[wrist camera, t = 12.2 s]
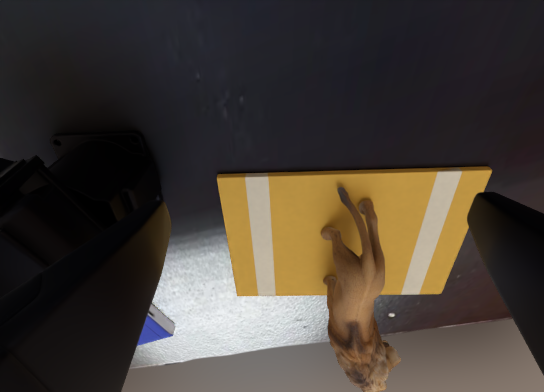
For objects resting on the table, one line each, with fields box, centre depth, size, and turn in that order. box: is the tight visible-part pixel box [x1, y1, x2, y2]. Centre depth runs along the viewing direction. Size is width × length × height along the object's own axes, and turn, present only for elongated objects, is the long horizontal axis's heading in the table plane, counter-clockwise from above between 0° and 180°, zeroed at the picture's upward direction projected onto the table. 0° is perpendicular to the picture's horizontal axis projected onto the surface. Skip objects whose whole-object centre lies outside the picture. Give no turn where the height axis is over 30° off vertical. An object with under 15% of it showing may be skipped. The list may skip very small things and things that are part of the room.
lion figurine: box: [321, 187, 401, 392], centre depth 24 cm, size 15×5×9 cm, turn 13°
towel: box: [217, 166, 492, 296], centre depth 27 cm, size 20×14×1 cm
